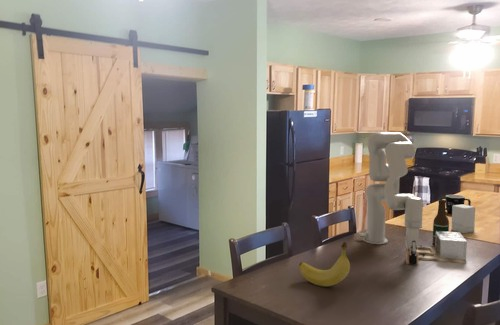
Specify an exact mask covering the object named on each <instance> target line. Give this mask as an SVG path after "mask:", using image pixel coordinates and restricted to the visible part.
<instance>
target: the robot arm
mask: <svg viewBox="0 0 500 325" xmlns="http://www.w3.org/2000/svg"><path fill="white" fill-rule="evenodd" d="M367 149H368V154H369V162H368V163H369V164H368V166H369V167H368V169H369V170H368V174H369V175H368V177H369V179H370V180H371V181H372V182H385V183H373V184H370V185H369V184H368V186H366V189H365V197H366V198H365V199H366V230H365V232H357V235H358V237H360V238H363V242H365V243H367V244H371V245H385V244H387V243H388V242H389V241H388V239H387V238H386V236H385V235H386V207H385V206H384V205H383V202H385V203H386V206H387V208H388V209H390V210H392V211H402V210H404V227H405V228H406V230H405V246H406V247H405V248H407V249H408V248H409V249H410V255H409V264H408V265H417V253H416V250H417V249H418V246H420V245H419V244H420V243H419V242H420V229H423V211H424V210H423V209H424V201H423V198H421V197H418V196H416V195H415V194H413V193H400V178H402V177H404V176H406V175H407V174H408V172H409V169H408V166H407V161H406V159H412V158H414V157H415V154H416V148H415V145H414V143H413V142H412V141H411V140H410V139H409V138H407V137H406V136H405V135H404V134H403V133H401V132H398V131H396V132H395V131H394V132H393V131H392V132H391V131H387V132H385V131H384V132H383V131H381V132H380V131H379V132H374V133H372V134H370V135H369V137H367ZM383 149H384V150H383ZM411 250H412V251H411Z"/></svg>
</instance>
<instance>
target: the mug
mask: <svg viewBox="0 0 500 325" xmlns="http://www.w3.org/2000/svg"><path fill="white" fill-rule="evenodd" d="M441 199H442V200H446V202H445V211H446V212H447V213H448V212H450V213H449V214H451V213H452V206H453V205H461V204H463V205H465V201H467V205H468V206H472V205H471V203H472V202H471V199H469V198H465V196H463V195H461V194H446V195H445V197H440V198H439V200H441Z"/></svg>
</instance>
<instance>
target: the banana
mask: <svg viewBox="0 0 500 325" xmlns="http://www.w3.org/2000/svg"><path fill="white" fill-rule="evenodd" d="M348 245H349V244H348V242H347V241H343V242H342V244H341V245H340V248H341V253H340V256H339V257H338V258H337V259H336V261H335V263H334V264H333V265H332V266H331V268H329V269H325V270H324V269H319V268H317V267H314V266H312V265H311V264H308V263H306V262H300V263H299V265H298V266H299V272H300V274H301V276H302V277H303V278H304V279H305V280H307V281H308V283H309V282H310V283H311V284H313V285H316V286H319V287H332V286H335V285H337V284H339V283H340V282H342V281H343V280H345V279H346V277H347V276H348V275H349V273H350V271H351V264H350V261H349V260H350V259H348V257H347V254H346V250H347V248H348Z"/></svg>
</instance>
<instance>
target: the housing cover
mask: <svg viewBox="0 0 500 325" xmlns="http://www.w3.org/2000/svg"><path fill="white" fill-rule="evenodd" d="M467 245H468V241H467V240H466V238H465V237H464V236H463V235H462V233H461V232H458V231H449V232H446V231H436V242H435V247H434V248H438V249H440V258H448V259H460V260H466V261H467V249H468V248H467Z"/></svg>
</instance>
